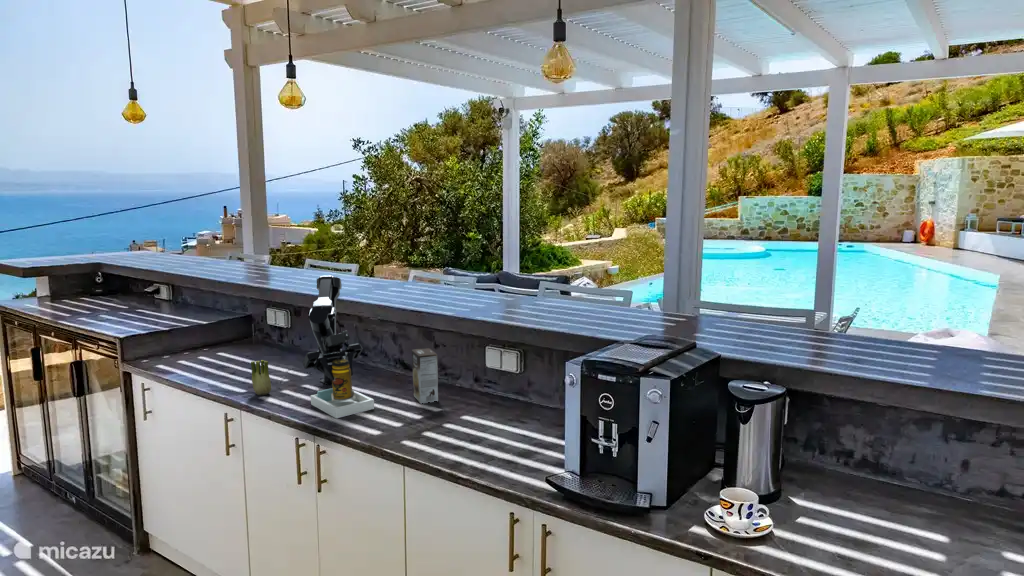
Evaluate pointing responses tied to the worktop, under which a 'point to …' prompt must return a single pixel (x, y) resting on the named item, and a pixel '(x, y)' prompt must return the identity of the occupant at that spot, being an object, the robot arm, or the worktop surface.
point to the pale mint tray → (344, 405)
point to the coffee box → (425, 375)
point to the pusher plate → (325, 394)
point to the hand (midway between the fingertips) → (342, 377)
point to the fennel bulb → (260, 377)
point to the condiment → (342, 381)
